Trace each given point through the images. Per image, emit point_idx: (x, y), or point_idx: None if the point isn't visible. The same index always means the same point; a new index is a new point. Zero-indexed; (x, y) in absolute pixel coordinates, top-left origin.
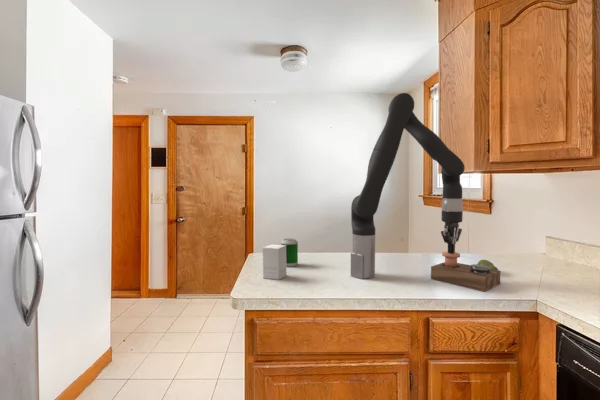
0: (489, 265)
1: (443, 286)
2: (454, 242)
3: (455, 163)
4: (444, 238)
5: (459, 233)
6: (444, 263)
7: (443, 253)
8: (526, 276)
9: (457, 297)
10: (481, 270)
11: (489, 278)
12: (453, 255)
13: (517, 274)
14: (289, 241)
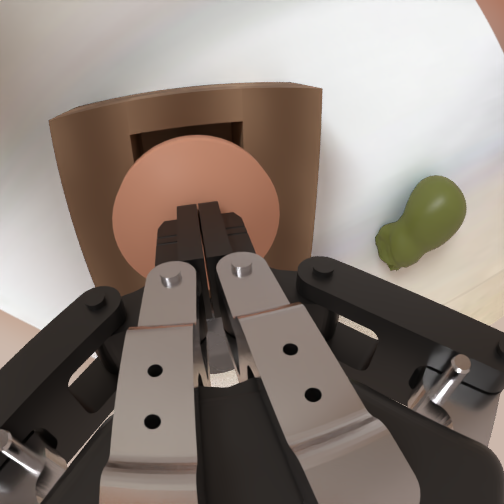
0: (415, 246)
1: (39, 224)
2: (226, 334)
3: None
4: (32, 365)
5: (399, 394)
6: (219, 111)
7: (122, 189)
8: (425, 293)
9: (12, 314)
10: None
11: None
12: (145, 276)
13: (436, 271)
14: None
